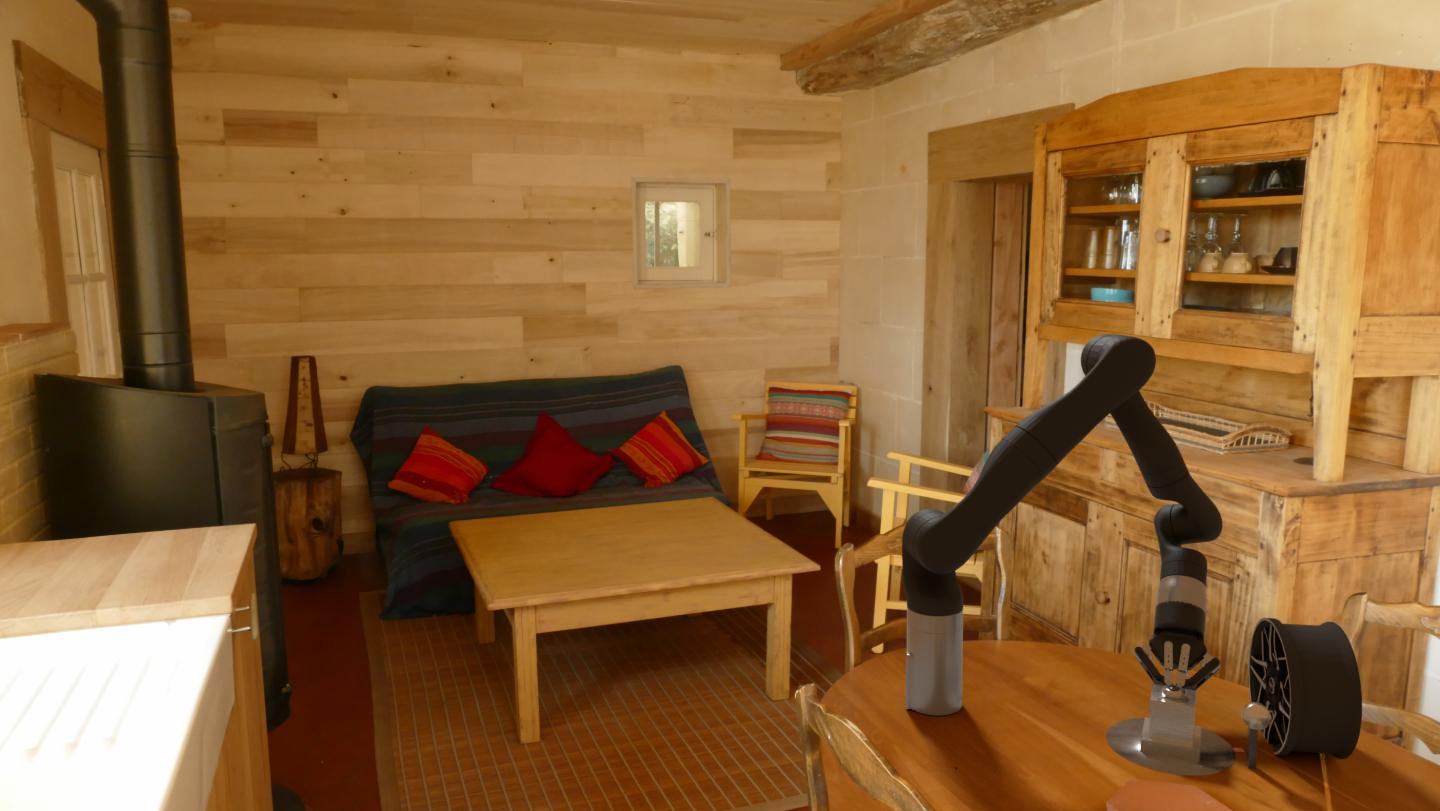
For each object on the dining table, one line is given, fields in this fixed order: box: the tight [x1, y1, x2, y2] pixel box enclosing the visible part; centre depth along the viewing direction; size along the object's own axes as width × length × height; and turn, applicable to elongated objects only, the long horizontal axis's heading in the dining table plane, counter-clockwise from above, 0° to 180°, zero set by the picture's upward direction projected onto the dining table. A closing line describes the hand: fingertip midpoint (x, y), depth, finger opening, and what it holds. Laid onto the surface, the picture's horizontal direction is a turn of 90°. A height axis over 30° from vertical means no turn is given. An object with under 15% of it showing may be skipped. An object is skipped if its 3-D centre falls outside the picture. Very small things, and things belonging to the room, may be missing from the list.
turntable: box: [1105, 717, 1246, 776], centre depth 154 cm, size 19×18×1 cm
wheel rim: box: [1248, 617, 1363, 760], centre depth 153 cm, size 20×9×20 cm, turn 168°
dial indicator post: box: [1241, 701, 1272, 770], centre depth 147 cm, size 4×3×11 cm
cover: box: [1140, 683, 1203, 762], centre depth 154 cm, size 8×8×9 cm
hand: (1172, 711), depth 157 cm, fingers closed
